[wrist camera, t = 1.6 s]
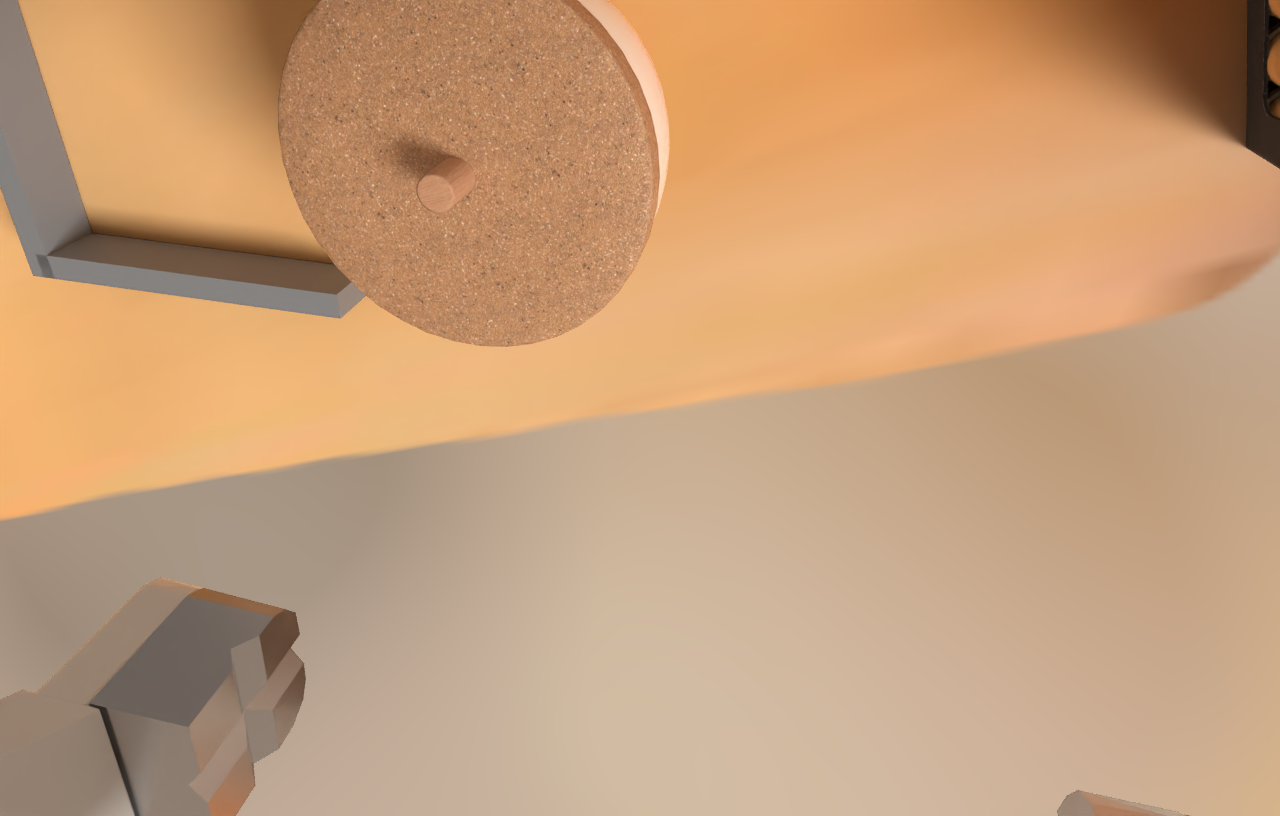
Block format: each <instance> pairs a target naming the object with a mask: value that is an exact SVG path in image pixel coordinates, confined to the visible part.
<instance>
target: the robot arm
mask: <svg viewBox="0 0 1280 816" xmlns="http://www.w3.org/2000/svg"><path fill="white" fill-rule="evenodd" d="M299 635H300V632H299V627H298V622H297V617H296V613H295V612H292V611H289V610H286V609H282V608H278V607H275V606H271V605H267V604H263V603H259V602H255V601H251V600H248V599H244V598H240V597H236V596H232V595H228V594H224V593H221V592H217V591H213V590H209V589H205V588H201V587H197V586H192V585H188V584H184V583H180V582H176V581H172V580H168V579H164V578H159V579H157V580H155V581H152V582H150V583H148V584H146V585H144V586H143V587H141V588H140V589H139V590H138V591H137V592H136V593H135V594H134V595H133V596H132V597H131V599H129V600H128V601H127V602H126V603H125V604H124V605H123V606H122V608H120V609H119V610H118V611H117V612H116V613H115V614H114V615H113V616H112V617H111V618H110V620H108V621H107V623H105V624H104V625H103V626H102V627H101V628H100V629H99V630H98V631H97V632H96V634H94V635H93V636H92V637H91V638H90V639H89V641H87V642H86V644H85V645H83V646H82V647H81V649H79V650H78V652H77V653H75V655H73V656H72V658H70V659H69V660H68V661H67V662H66V664H64V665H63V666H62V667H61V669H60V670H58V671H57V672H56V673H55V674H54V676H52V677H51V679H49V680H48V681H47V682H46V683H45V684H44V686H42V688H41V689H40V690H39V691H38V692H37V693H36V692H32V691H27V690H21V691H19V692H17V693H14V694H12V695H10V696H7V697H5V698H3V699H1V700H0V816H236V814H237V813H238V811H239V810H240V808H241V807H242V805H243V804H244V802H245V800H246V799H247V798H248V796H249V794H250V793H251V791H252V790H253V788H254V786H255V776H254V765H253V764H254V763H255V762H257V761H259V760H260V759H262V758H264V757H266V756H268V755H269V754H271V753H273V752H274V751H276V750H278V749H279V748H280V746H281V745H282V743H283V741H284V740H285V738H286V737H287V735H288V733H289V732H290V730H291V728H292V727H293V725H294V722H295V719H296V717H297V714H298V712H299V709H300V706H301V704H302V701H303V696H304V689H305V680H306V677H305V668H304V663H303V662H302V660H301V659H300V658H299V657H298V656H297V655H296V653H295V652H294V651H293V650H292V649H291V646H292V645H293V644H294V642H295V641H296V639H297V638H298V636H299ZM1057 813H1058V816H1189V815H1182V814H1181V813H1179V812H1176V811H1172V810H1167V809H1163V808H1158V807H1153V806H1149V805H1144V804H1140V803H1135V802H1130V801H1126V800H1121V799H1116V798H1112V797H1107V796H1102V795H1098V794H1093V793H1089V792H1084V791H1079V790H1077V791H1075V792H1073V793H1071V794H1069V795H1067V796H1066V798H1065V799H1064V801H1063V802H1062V804H1061V806H1060V807H1059V809H1058V810H1057Z"/></svg>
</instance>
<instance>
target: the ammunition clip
mask: <svg viewBox="0 0 1280 816" xmlns="http://www.w3.org/2000/svg"><path fill="white" fill-rule="evenodd" d="M1246 147H1247V148H1248V149H1249V150H1251V151H1252V152H1254V153H1256V154H1257V155H1259V156H1260V157H1262V158H1263V159H1265V160H1267V161H1268V162H1270V163H1271V164H1273V165H1275V166H1276V167H1278V168H1279V169H1280V0H1248V7H1247V125H1246Z"/></svg>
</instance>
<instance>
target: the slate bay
mask: <svg viewBox="0 0 1280 816" xmlns="http://www.w3.org/2000/svg"><path fill="white" fill-rule="evenodd" d="M0 188H1V190H2V193H3V196H4V199H5V201H6V204H7V207H8V209H9V212H10V215H11V217H12V220H13V223H14V225H15V228H16V231H17V234H18V236H19V239H20V242H21V244H22V247H23V250H24V252H25V255H26V258H27V261H28V263H29V266H30V269H31V271H32V274H33V276H39V277H46V278H53V279H60V280H68V281H75V282H82V283H89V284H96V285H103V286H111V287H118V288H125V289H132V290H139V291H146V292H154V293H161V294H168V295H175V296H182V297H190V298H197V299H204V300H211V301H218V302H225V303H233V304H240V305H247V306H254V307H261V308H269V309H276V310H283V311H290V312H297V313H304V314H312V315H319V316H326V317H333V318H340V319H341V318H342V317H343V316H344V315H345V314H346V313H347V312H348V311H349V310H351V309H352V308H353V307H354V306H355V305H356V304H357V303H358V302H359V301H361V300H362V299H363V298H364V297H365V296H366V295H365V294H364V293H363V292H362V291H360V290H359V289H358V288H357V287H356V286H355V285H354V284H353V283H352V282H351V281H350V280H349V279H348V278H347V277H346V276H345V275H344V274H343V273H342V272H341V271H340V270H339V269H338V268H337V267H336V266H335V264H327V263H319V262H312V261H304V260H296V259H288V258H281V257H273V256H265V255H258V254H250V253H242V252H234V251H227V250H219V249H211V248H203V247H196V246H188V245H180V244H172V243H165V242H157V241H149V240H141V239H134V238H126V237H118V236H111V235H103V234H95V233H92V231H91V228H90V225H89V222H88V219H87V216H86V213H85V210H84V206H83V203H82V200H81V197H80V194H79V191H78V188H77V185H76V182H75V178H74V175H73V172H72V169H71V166H70V163H69V160H68V157H67V154H66V150H65V147H64V144H63V141H62V138H61V135H60V132H59V129H58V126H57V122H56V119H55V116H54V113H53V110H52V107H51V104H50V101H49V98H48V94H47V91H46V88H45V85H44V82H43V79H42V76H41V73H40V70H39V66H38V63H37V60H36V57H35V54H34V51H33V48H32V45H31V42H30V38H29V35H28V32H27V29H26V26H25V23H24V20H23V17H22V14H21V10H20V7H19V4H18V1H17V0H0Z"/></svg>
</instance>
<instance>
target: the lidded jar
mask: <svg viewBox="0 0 1280 816" xmlns="http://www.w3.org/2000/svg"><path fill="white" fill-rule="evenodd" d="M278 130H279V137H280V143H281V150H282V157H283V163H284V166H285V169H286V173H287V176H288V179H289V183H290V186H291V189H292V192H293V194H294V197H295V199H296V201H297V204H298V206H299V209H300V211H301V213H302V216H303V218H304V220H305V221H306V223H307V225H308V226H309V228H310V230H311V231H312V233H313V234H314V236H315V238H316V239H317V241H318V243H319V244H320V246H321V247H322V248H323V250H324V251H325V252H326V254H327V255H328V256H329V258H330V259H331V260H332V262H333V263H334V264H335V266H336V267H337V268H338V269H339V270H340V271H341V272H342V273H343V274H344V275H345V276H346V277H347V278H348V279H349V280H350V281H351V282H352V283H353V284H354V285H355V286H356V287H357V288H358V289H359V290H360V291H362V292H363V293H364V294H365V295H366V296H368V297H369V298H370V299H371V300H372V301H374V302H375V303H376V304H377V305H378V306H380V307H381V308H383V309H385V310H386V311H388V312H390V313H391V314H393V315H394V316H396V317H398V318H399V319H401V320H402V321H405V322H407V323H409V324H411V325H413V326H415V327H417V328H419V329H421V330H423V331H425V332H427V333H430V334H433V335H437V336H440V337H443V338H446V339H449V340H452V341H456V342H462V343H468V344H473V345H479V346H501V347H508V346H517V345H525V344H533V343H536V342H540V341H543V340H547V339H550V338H554V337H557V336H559V335H561V334H563V333H565V332H567V331H569V330H572V329H574V328H576V327H578V326H580V325H581V324H582V323H584V322H585V321H587V320H588V319H589V318H591V317H592V316H594V315H595V314H597V313H598V312H599V311H600V310H601V309H602V308H603V307H604V306H605V305H606V304H607V303H608V302H609V301H610V300H611V299H612V298H613V297H614V296H615V295H616V294H617V293H618V292H619V291H620V289H621V288H622V286H623V285H624V283H625V282H626V280H627V279H628V277H629V276H630V274H631V273H632V271H633V270H634V268H635V267H636V265H637V262H638V260H639V258H640V256H641V254H642V252H643V249H644V247H645V245H646V243H647V240H648V238H649V236H650V232H651V228H652V224H653V221H654V218H655V216H656V214H657V211H658V209H659V205H660V201H661V197H662V194H663V190H664V186H665V182H666V176H667V168H668V158H669V147H670V144H669V126H668V116H667V111H666V106H665V101H664V96H663V91H662V87H661V84H660V81H659V78H658V75H657V73H656V70H655V67H654V65H653V62H652V60H651V58H650V56H649V54H648V52H647V50H646V48H645V47H644V45H643V43H642V41H641V39H640V37H639V36H638V34H637V33H636V32H635V30H634V29H633V28H632V26H631V25H630V24H629V22H628V21H627V20H626V18H625V17H624V16H623V14H622V13H621V12H620V11H619V10H618V9H617V8H616V7H615V6H614V5H613V4H612V3H611V2H610V1H609V0H319V1H318V2H317V4H316V5H315V6H314V7H313V8H312V10H311V11H310V12H309V13H308V14H307V16H306V17H305V19H304V21H303V23H302V25H301V26H300V28H299V30H298V32H297V34H296V36H295V37H294V39H293V41H292V44H291V47H290V50H289V53H288V56H287V59H286V62H285V65H284V68H283V72H282V79H281V85H280V92H279V99H278Z"/></svg>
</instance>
